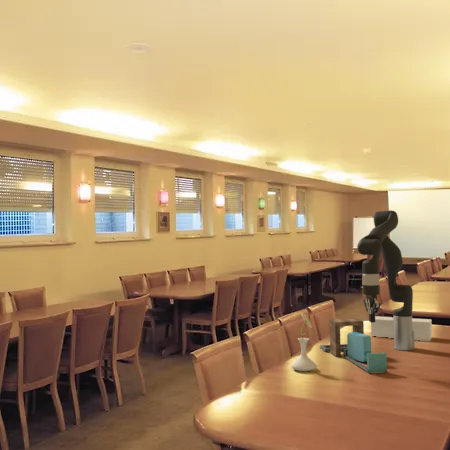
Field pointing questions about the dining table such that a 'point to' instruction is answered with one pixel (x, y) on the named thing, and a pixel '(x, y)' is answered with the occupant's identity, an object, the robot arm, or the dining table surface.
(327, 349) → the tray
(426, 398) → the dining table surface
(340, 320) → the wooden arch
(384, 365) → the frame
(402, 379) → the dining table surface
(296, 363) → the flower in vase
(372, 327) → the white long block
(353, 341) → the data package
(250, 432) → the dining table surface
